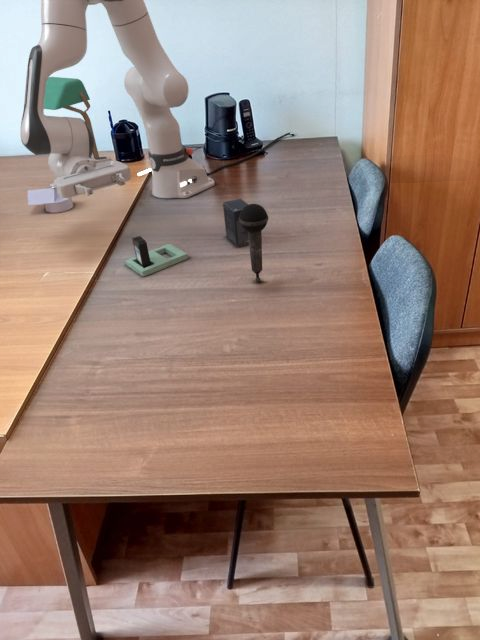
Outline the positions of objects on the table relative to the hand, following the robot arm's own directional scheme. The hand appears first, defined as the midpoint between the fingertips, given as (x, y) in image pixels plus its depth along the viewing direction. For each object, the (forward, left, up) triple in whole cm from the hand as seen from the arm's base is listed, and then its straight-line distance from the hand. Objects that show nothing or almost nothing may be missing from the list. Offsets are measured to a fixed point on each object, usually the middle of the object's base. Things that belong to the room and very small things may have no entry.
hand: (106, 186), depth 138 cm
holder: (-4, +12, -19) cm, 23 cm away
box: (-28, +18, -19) cm, 38 cm away
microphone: (-16, +40, -19) cm, 47 cm away
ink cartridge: (0, +12, -19) cm, 23 cm away
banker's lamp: (-19, -63, -19) cm, 69 cm away
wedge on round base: (0, -48, -19) cm, 52 cm away
